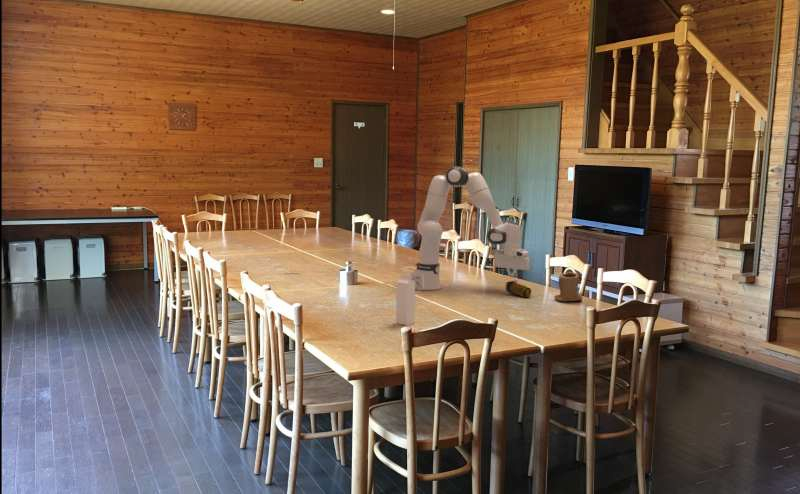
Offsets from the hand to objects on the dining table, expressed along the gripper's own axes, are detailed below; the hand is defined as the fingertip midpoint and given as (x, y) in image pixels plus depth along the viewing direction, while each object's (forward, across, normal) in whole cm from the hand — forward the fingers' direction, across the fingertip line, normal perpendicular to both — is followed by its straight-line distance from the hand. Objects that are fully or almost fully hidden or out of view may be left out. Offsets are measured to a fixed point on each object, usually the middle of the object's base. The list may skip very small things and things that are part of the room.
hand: (511, 276), depth 360 cm
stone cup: (+10, +33, +3) cm, 34 cm away
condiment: (+6, +1, -2) cm, 6 cm away
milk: (+9, -9, -88) cm, 89 cm away
